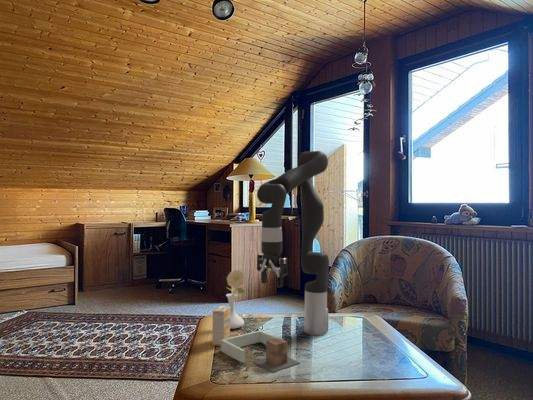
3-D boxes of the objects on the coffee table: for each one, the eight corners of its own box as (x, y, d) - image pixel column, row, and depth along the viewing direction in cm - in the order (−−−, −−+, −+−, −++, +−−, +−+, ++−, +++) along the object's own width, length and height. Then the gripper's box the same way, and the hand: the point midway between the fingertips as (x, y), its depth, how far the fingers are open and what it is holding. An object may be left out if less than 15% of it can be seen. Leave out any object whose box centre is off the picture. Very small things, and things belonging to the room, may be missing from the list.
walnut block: (277, 358, 137) (277, 337, 137) (287, 362, 133) (287, 341, 133) (266, 361, 134) (266, 340, 134) (275, 366, 130) (276, 344, 130)
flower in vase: (212, 327, 171) (213, 269, 171) (229, 321, 180) (230, 266, 181) (236, 333, 163) (236, 272, 164) (252, 326, 173) (253, 269, 173)
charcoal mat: (280, 354, 141) (280, 353, 141) (299, 363, 134) (299, 362, 134) (253, 362, 134) (253, 361, 134) (272, 372, 126) (272, 371, 126)
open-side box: (260, 340, 155) (260, 330, 155) (283, 350, 145) (283, 339, 145) (220, 351, 144) (220, 339, 144) (242, 362, 133) (242, 350, 134)
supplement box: (224, 346, 148) (224, 311, 149) (211, 345, 149) (212, 310, 150) (230, 339, 157) (230, 305, 157) (218, 338, 158) (219, 305, 158)
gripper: (293, 240, 140) (293, 287, 140) (266, 237, 150) (267, 280, 151) (277, 242, 135) (277, 290, 135) (251, 239, 146) (251, 283, 146)
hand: (271, 285), depth 143 cm, fingers open, 8 cm apart
